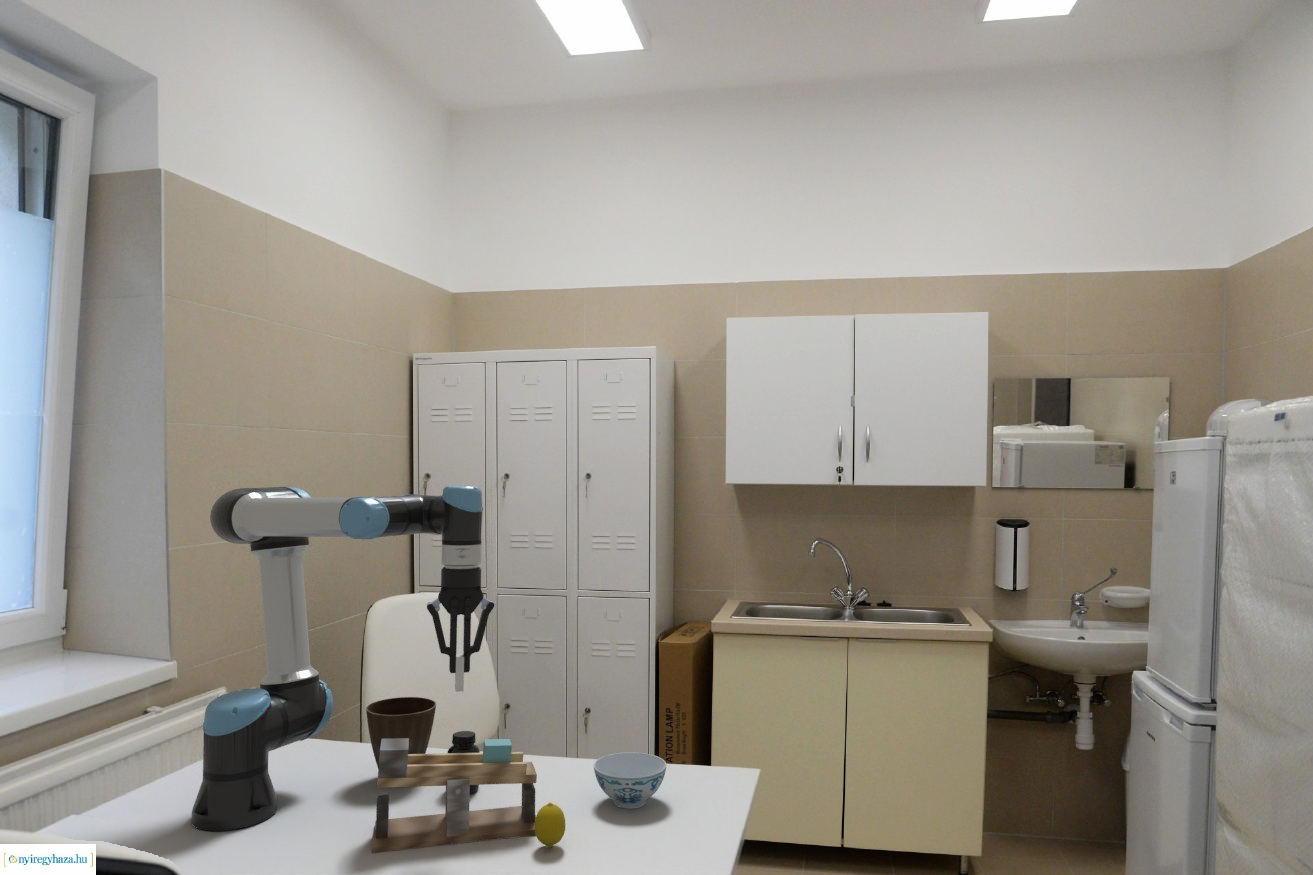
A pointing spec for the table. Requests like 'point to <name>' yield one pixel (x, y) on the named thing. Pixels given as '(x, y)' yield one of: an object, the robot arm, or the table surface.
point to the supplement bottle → (465, 748)
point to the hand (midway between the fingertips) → (459, 689)
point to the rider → (497, 750)
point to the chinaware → (630, 777)
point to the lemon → (550, 825)
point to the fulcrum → (453, 821)
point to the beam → (446, 767)
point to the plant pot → (401, 722)
